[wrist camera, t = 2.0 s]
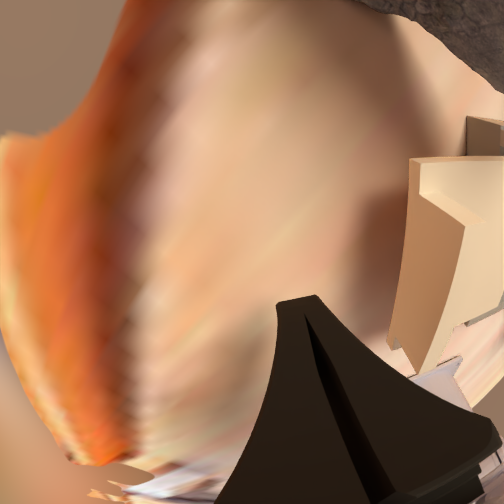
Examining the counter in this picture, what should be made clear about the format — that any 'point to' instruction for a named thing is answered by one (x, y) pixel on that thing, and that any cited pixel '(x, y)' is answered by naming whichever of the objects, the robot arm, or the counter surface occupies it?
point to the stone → (459, 30)
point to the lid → (448, 253)
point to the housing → (485, 144)
